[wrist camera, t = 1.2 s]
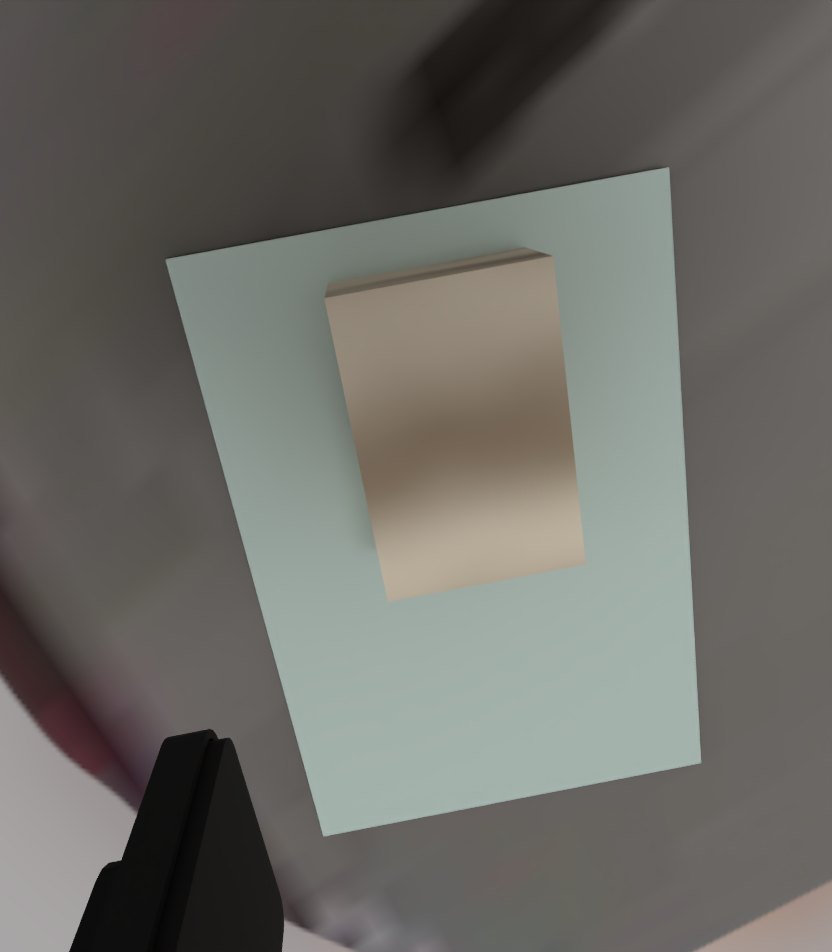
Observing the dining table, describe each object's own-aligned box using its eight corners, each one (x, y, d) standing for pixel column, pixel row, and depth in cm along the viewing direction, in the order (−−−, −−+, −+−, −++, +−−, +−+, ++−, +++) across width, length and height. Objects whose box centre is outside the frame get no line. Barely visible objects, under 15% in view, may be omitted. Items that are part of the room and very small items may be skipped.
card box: (327, 283, 23) (324, 298, 20) (525, 247, 24) (553, 256, 20) (383, 551, 27) (387, 602, 23) (557, 518, 27) (585, 564, 23)
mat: (168, 258, 23) (165, 259, 23) (664, 168, 23) (669, 167, 23) (323, 828, 31) (323, 836, 30) (696, 756, 31) (701, 763, 31)
